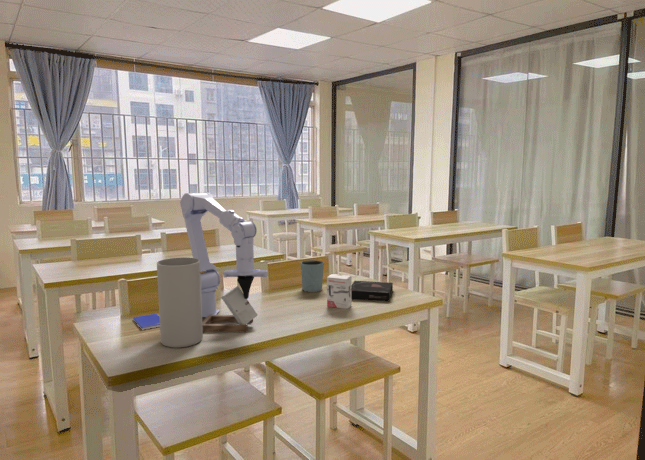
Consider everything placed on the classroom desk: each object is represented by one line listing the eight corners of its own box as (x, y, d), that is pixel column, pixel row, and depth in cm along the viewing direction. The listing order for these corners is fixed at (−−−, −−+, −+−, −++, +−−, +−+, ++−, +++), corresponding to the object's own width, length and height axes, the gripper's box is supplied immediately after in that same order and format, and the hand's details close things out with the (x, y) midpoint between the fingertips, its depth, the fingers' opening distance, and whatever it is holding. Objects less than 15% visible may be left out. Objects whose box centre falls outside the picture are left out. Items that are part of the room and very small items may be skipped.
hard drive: (166, 322, 162) (156, 313, 172) (141, 327, 157) (132, 317, 167) (167, 327, 162) (156, 317, 172) (141, 331, 157) (133, 321, 168)
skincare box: (244, 326, 157) (223, 296, 156) (240, 326, 161) (219, 297, 160) (258, 314, 160) (238, 285, 159) (255, 315, 164) (234, 287, 163)
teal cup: (298, 291, 203) (298, 264, 202) (303, 285, 213) (303, 259, 212) (322, 293, 202) (321, 265, 200) (325, 286, 212) (325, 260, 210)
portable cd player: (392, 291, 206) (392, 282, 205) (388, 302, 189) (389, 292, 189) (354, 289, 209) (354, 280, 209) (348, 300, 193) (348, 290, 192)
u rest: (200, 331, 156) (199, 325, 156) (209, 320, 167) (209, 314, 167) (246, 332, 156) (246, 326, 155) (253, 320, 166) (253, 315, 166)
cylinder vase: (179, 331, 156) (175, 256, 153) (211, 336, 151) (208, 259, 148) (151, 344, 145) (147, 263, 141) (185, 351, 140) (181, 267, 136)
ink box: (326, 306, 182) (326, 276, 181) (331, 303, 187) (331, 273, 185) (347, 309, 179) (347, 278, 178) (352, 305, 184) (352, 275, 182)
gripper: (220, 260, 154) (221, 301, 156) (264, 260, 153) (266, 301, 155) (225, 256, 161) (227, 295, 163) (268, 256, 160) (269, 295, 162)
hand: (246, 298), depth 159 cm, fingers closed
